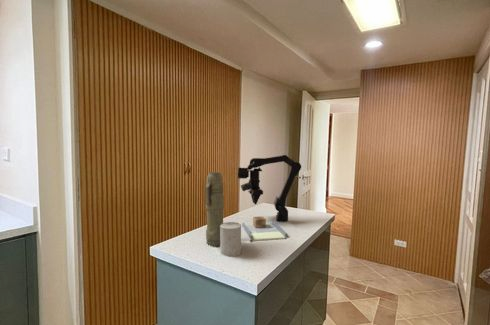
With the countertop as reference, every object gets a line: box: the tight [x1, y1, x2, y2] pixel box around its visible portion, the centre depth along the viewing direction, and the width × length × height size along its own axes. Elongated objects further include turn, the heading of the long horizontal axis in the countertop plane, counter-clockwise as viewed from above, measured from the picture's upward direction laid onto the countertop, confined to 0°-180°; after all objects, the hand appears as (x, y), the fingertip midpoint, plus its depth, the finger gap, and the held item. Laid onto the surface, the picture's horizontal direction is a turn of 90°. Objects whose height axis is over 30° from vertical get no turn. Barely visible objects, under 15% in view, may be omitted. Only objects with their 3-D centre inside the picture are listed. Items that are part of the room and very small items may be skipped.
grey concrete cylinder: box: [219, 221, 242, 257], centre depth 121 cm, size 10×10×12 cm
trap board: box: [241, 220, 288, 243], centre depth 146 cm, size 22×19×3 cm
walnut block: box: [252, 215, 267, 228], centre depth 154 cm, size 6×6×5 cm
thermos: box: [205, 171, 225, 247], centre depth 131 cm, size 9×12×35 cm
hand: (254, 203), depth 165 cm, fingers open, 4 cm apart
